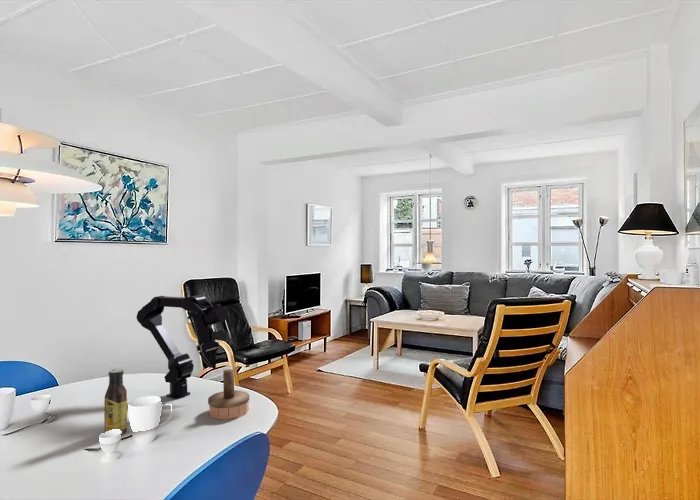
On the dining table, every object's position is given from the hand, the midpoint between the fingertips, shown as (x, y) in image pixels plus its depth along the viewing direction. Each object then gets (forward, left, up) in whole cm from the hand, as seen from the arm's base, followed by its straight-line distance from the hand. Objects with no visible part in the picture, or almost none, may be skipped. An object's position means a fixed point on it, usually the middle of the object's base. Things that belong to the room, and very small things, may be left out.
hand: (212, 368), depth 161 cm
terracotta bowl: (+13, -5, -12) cm, 19 cm away
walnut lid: (+13, -5, -8) cm, 16 cm away
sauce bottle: (-4, -35, -13) cm, 37 cm away
